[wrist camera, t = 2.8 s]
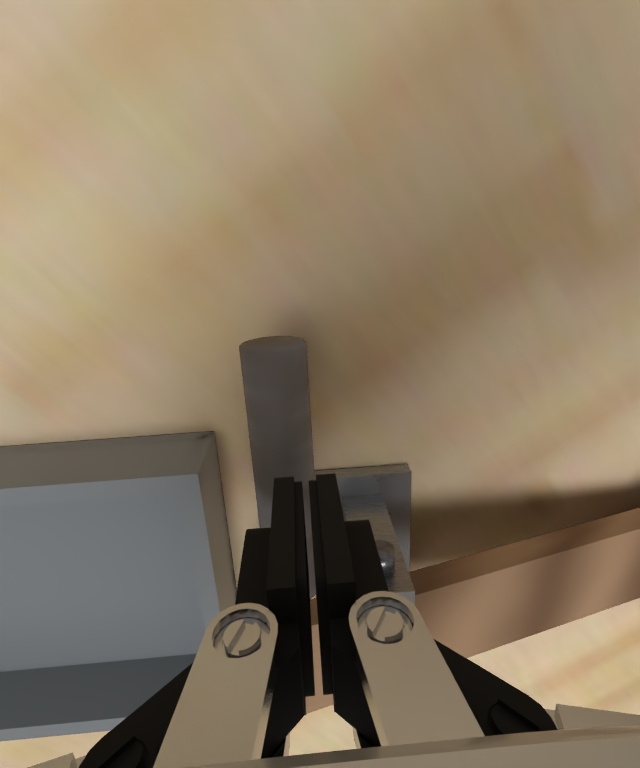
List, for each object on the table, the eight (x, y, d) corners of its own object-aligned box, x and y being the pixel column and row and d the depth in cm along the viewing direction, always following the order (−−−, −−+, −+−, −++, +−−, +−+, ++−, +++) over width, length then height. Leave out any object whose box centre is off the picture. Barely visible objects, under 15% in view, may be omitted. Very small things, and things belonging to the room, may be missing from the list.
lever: (795, 275, 21) (903, 282, 18) (714, 549, 26) (787, 592, 23) (235, 340, 14) (251, 370, 11) (276, 694, 19) (295, 782, 16)
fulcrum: (407, 463, 23) (456, 563, 16) (405, 598, 26) (446, 731, 19) (309, 471, 23) (318, 575, 16) (318, 606, 25) (329, 742, 19)
